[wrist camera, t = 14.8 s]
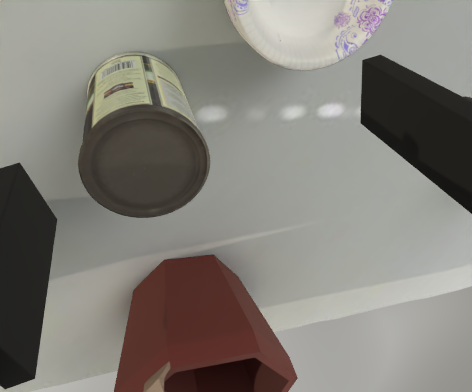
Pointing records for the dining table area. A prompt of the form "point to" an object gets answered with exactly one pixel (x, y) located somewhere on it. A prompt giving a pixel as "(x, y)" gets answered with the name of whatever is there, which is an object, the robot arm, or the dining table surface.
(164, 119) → the coffee can
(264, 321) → the bucket
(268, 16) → the paper bowls
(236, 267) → the dining table surface
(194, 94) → the dining table surface
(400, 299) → the dining table surface
